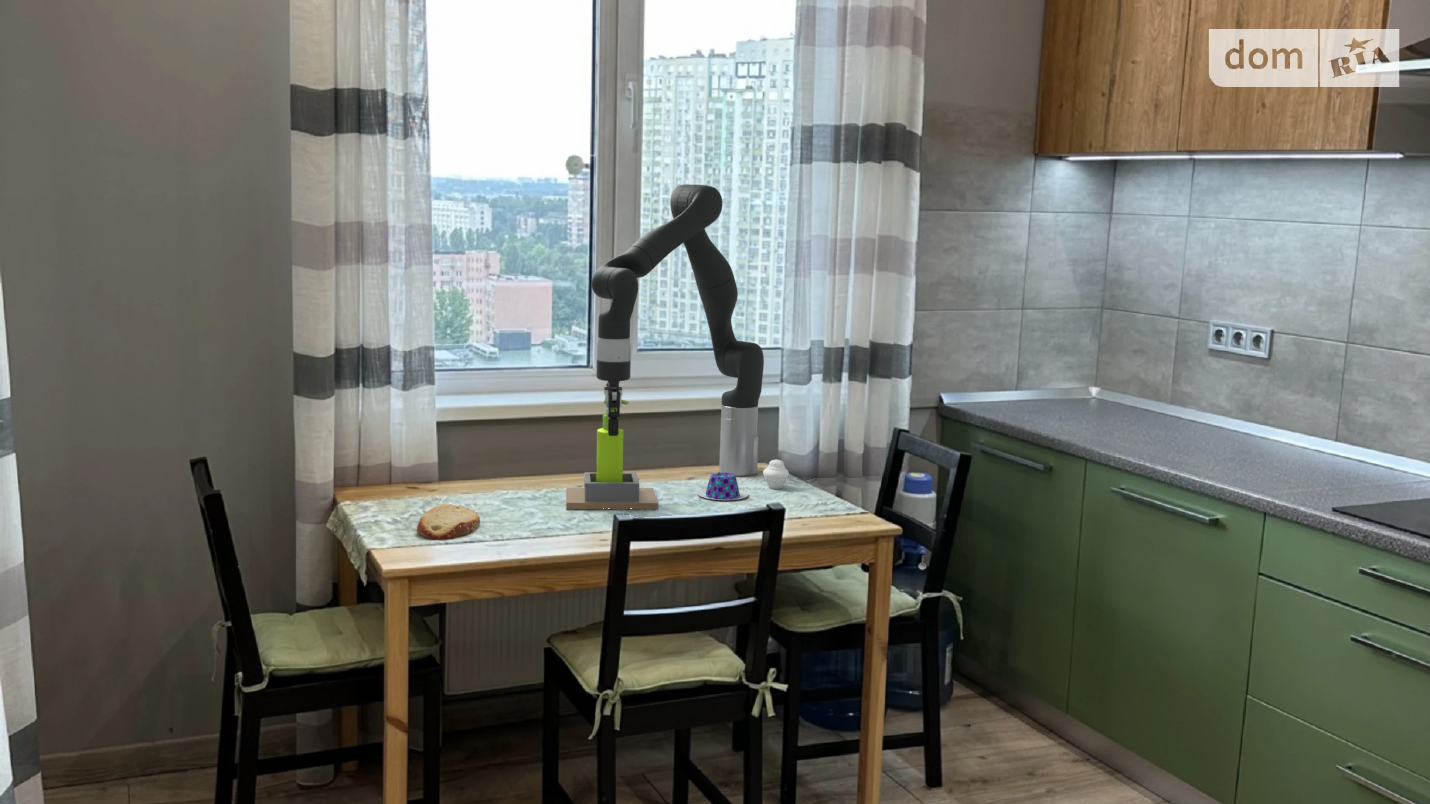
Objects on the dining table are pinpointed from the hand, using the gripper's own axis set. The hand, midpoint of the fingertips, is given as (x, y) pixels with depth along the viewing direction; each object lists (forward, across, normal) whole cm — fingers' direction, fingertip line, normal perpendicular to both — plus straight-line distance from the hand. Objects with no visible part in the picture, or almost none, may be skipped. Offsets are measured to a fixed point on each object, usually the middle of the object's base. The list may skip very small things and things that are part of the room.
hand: (612, 432), depth 275 cm
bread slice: (+16, -20, +35) cm, 43 cm away
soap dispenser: (+13, 0, 0) cm, 13 cm away
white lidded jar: (+16, +14, -40) cm, 45 cm away
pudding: (+17, +6, -26) cm, 31 cm away
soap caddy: (+16, 0, 0) cm, 16 cm away
